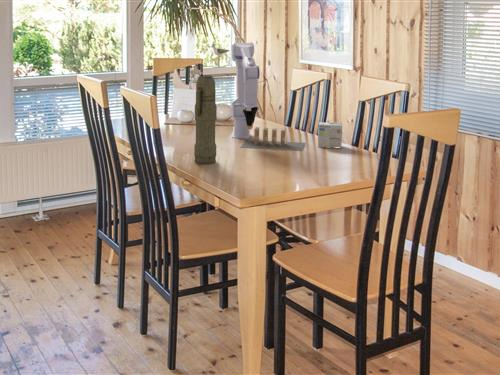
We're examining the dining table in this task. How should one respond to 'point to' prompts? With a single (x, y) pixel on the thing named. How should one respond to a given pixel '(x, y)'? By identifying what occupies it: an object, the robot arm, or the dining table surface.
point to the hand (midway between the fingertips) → (250, 124)
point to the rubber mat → (288, 146)
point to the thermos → (205, 120)
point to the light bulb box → (329, 134)
